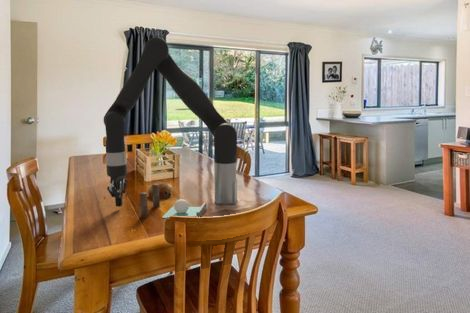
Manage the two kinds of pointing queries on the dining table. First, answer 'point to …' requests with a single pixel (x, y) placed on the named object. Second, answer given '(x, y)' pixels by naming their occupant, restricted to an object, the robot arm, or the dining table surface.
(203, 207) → the stopper strip
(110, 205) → the dining table surface
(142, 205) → the post left
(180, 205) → the ball
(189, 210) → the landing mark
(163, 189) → the coconut
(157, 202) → the post right
